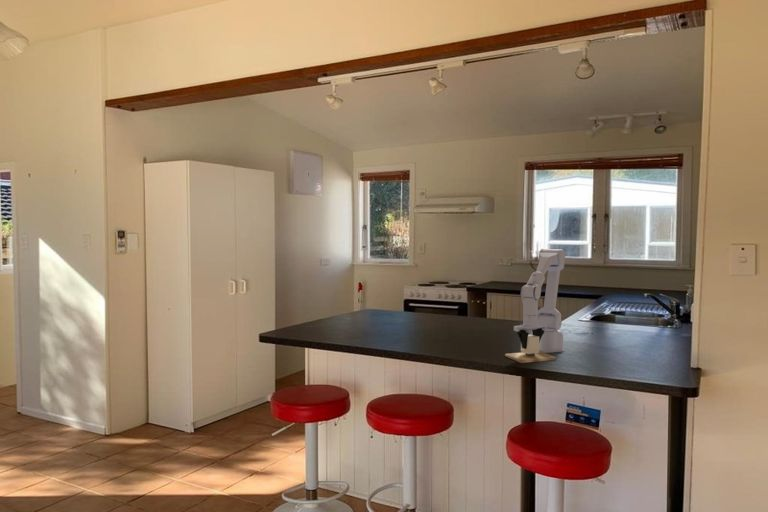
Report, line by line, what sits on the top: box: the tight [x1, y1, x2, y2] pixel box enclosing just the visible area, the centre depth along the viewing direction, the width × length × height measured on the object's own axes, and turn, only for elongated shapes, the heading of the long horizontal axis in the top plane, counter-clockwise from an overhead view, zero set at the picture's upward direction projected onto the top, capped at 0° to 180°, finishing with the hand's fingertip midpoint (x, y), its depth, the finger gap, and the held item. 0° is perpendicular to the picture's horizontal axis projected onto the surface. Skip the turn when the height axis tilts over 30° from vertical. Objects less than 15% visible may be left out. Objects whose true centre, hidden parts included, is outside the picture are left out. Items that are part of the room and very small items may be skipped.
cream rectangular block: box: [520, 333, 539, 354], centre depth 222 cm, size 5×5×7 cm
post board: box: [504, 351, 557, 364], centre depth 222 cm, size 16×12×6 cm
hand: (530, 347), depth 222 cm, fingers closed on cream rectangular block, 5 cm apart
